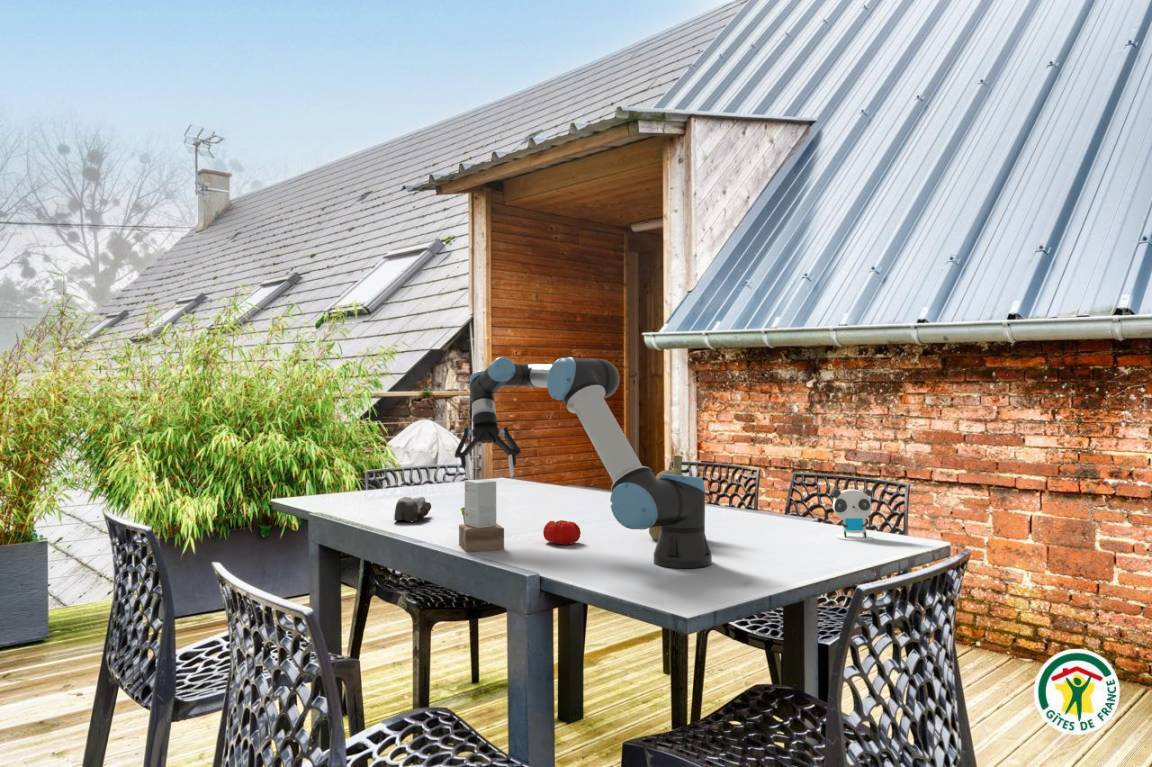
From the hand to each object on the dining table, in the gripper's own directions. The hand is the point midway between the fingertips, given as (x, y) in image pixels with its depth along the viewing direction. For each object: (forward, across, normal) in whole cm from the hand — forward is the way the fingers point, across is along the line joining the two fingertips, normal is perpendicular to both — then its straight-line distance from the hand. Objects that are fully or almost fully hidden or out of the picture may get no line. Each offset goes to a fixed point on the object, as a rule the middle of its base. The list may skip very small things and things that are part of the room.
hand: (490, 476), depth 248 cm
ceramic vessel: (+23, -55, -1) cm, 59 cm away
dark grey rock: (-9, +20, -51) cm, 55 cm away
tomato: (+22, -20, -2) cm, 30 cm away
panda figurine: (+30, -109, +10) cm, 113 cm away
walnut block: (+22, +4, -1) cm, 23 cm away
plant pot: (+12, +3, -17) cm, 21 cm away
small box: (+17, +4, +2) cm, 18 cm away
